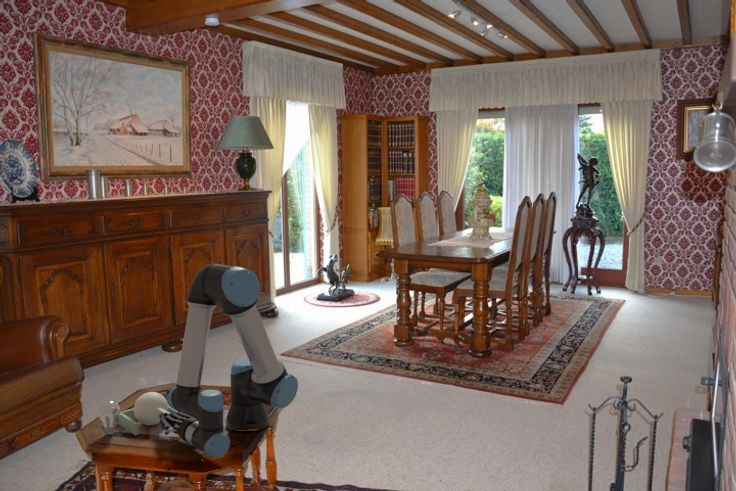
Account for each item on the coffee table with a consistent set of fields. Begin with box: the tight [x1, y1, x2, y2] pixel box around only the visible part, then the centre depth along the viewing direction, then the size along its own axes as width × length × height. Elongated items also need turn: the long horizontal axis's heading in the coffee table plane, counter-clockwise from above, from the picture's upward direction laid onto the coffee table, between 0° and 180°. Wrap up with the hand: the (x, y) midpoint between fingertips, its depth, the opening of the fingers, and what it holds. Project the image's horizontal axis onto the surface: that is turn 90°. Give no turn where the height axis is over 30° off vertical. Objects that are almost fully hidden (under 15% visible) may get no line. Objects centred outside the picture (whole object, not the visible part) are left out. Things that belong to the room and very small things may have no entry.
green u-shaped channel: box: [116, 405, 181, 436], centre depth 221 cm, size 14×17×4 cm
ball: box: [133, 391, 168, 427], centre depth 220 cm, size 12×12×12 cm
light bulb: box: [97, 400, 121, 436], centre depth 210 cm, size 7×7×12 cm
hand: (159, 412), depth 215 cm, fingers closed
